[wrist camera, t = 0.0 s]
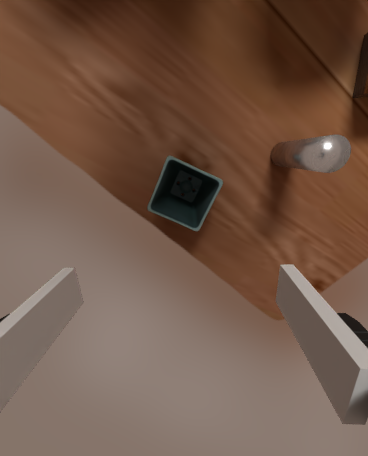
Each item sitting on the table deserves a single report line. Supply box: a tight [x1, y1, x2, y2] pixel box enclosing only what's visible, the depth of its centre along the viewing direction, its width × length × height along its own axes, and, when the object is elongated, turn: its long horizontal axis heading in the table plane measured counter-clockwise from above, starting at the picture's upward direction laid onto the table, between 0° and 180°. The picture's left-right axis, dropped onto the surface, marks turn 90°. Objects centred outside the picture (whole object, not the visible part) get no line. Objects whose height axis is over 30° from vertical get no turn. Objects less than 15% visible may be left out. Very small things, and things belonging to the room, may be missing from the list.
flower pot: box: [147, 156, 223, 231], centre depth 35 cm, size 9×9×9 cm
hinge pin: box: [271, 135, 351, 173], centre depth 30 cm, size 4×4×14 cm
